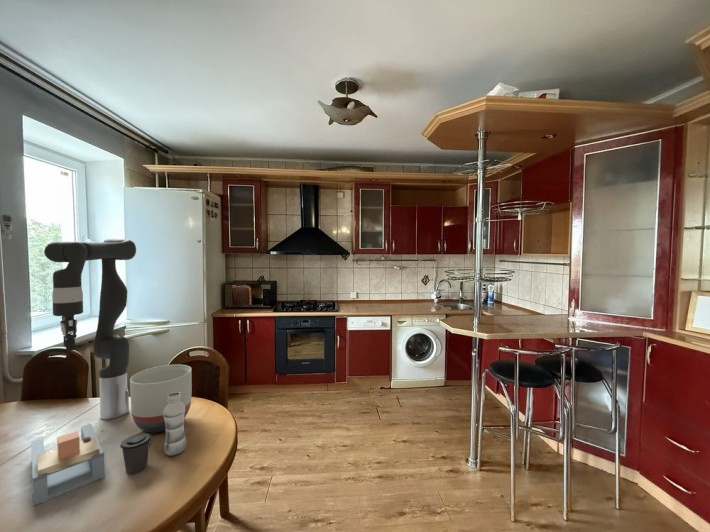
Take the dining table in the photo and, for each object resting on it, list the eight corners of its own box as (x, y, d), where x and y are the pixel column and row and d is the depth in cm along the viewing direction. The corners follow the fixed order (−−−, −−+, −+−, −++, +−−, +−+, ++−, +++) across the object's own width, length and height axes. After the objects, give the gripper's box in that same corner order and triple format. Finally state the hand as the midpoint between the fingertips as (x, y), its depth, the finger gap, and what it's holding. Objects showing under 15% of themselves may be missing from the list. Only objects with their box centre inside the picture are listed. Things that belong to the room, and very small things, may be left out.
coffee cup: (118, 481, 91) (117, 448, 91) (123, 465, 99) (122, 434, 98) (150, 472, 95) (149, 440, 95) (153, 457, 102) (153, 427, 102)
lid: (94, 442, 100) (94, 434, 99) (99, 455, 93) (99, 446, 93) (37, 462, 90) (36, 452, 90) (37, 477, 84) (37, 467, 83)
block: (78, 447, 94) (77, 431, 94) (79, 453, 91) (79, 436, 91) (57, 454, 91) (57, 437, 90) (58, 460, 88) (58, 443, 87)
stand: (91, 441, 112) (91, 420, 112) (104, 476, 93) (104, 452, 93) (31, 461, 101) (31, 438, 101) (33, 505, 82) (32, 478, 82)
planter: (143, 449, 106) (141, 388, 106) (123, 430, 119) (121, 375, 118) (201, 424, 123) (201, 371, 122) (179, 409, 135) (178, 361, 134)
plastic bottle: (190, 448, 107) (189, 391, 107) (173, 460, 101) (172, 400, 100) (176, 444, 109) (175, 389, 109) (159, 456, 103) (158, 397, 102)
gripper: (85, 301, 102) (86, 349, 102) (80, 297, 111) (81, 342, 112) (53, 303, 96) (55, 355, 97) (51, 299, 106) (52, 346, 106)
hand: (69, 348), depth 104 cm, fingers open, 8 cm apart
